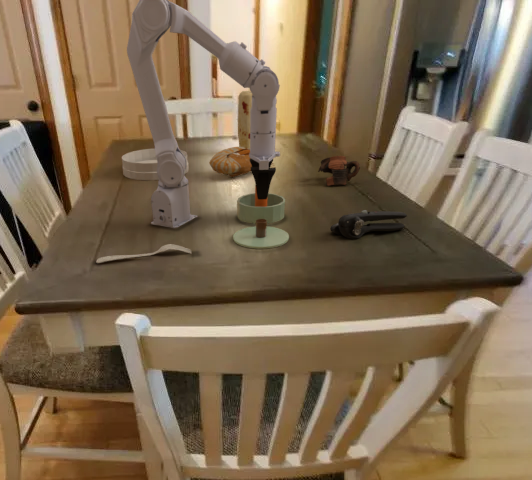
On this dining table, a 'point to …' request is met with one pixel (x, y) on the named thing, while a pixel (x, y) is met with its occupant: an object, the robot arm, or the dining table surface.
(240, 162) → the nautilus
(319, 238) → the dining table surface
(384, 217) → the can opener
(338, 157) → the pottery mug
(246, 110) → the food model
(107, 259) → the fork
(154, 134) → the robot arm
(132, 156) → the dish
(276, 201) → the pot
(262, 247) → the lid
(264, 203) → the carrot
